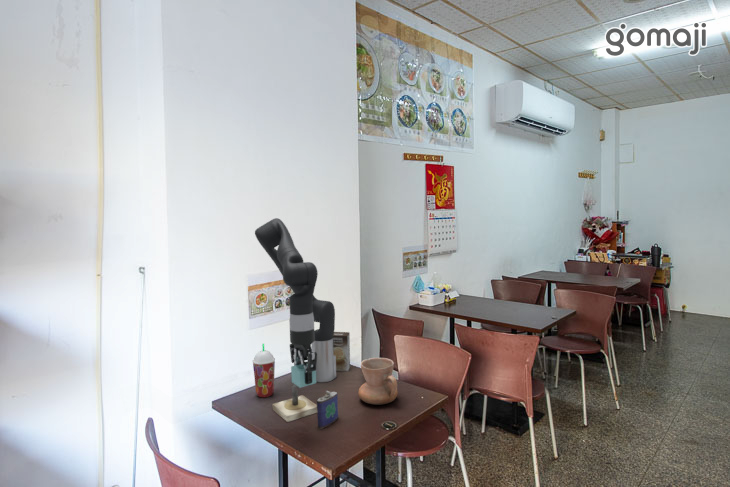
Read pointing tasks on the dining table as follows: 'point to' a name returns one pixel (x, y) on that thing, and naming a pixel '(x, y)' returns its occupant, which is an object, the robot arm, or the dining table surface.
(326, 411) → the flask
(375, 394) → the ceramic jug
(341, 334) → the coffee box
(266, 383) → the smoothie
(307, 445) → the dining table surface
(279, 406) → the shaft stand
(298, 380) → the teal hollow block
